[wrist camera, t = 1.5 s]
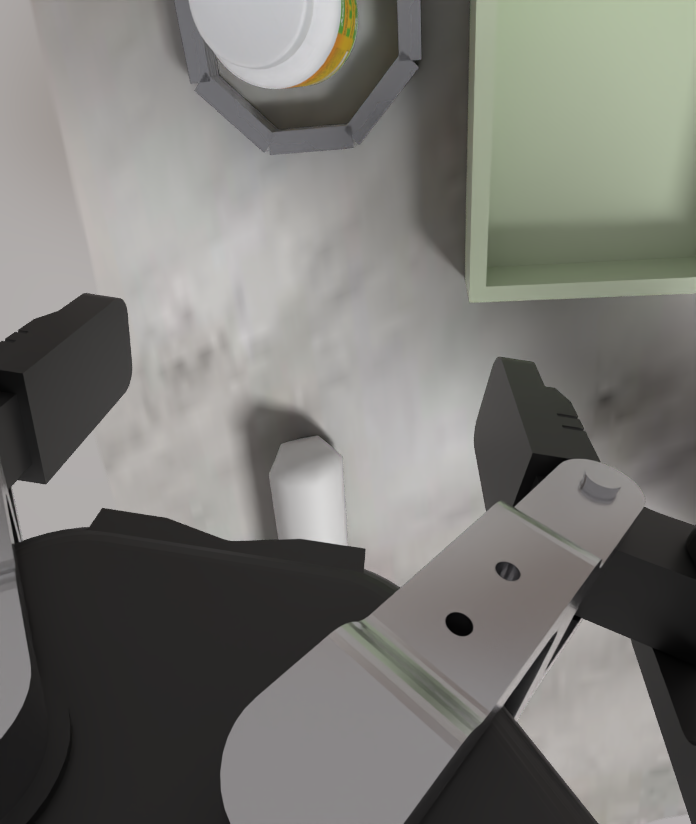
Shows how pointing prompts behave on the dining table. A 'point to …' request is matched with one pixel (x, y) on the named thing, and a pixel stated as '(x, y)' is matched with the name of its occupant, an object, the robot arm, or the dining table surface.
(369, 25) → the dining table surface
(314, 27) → the supplement bottle
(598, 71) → the bin
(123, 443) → the dining table surface
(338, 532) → the tube
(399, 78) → the socket ring
